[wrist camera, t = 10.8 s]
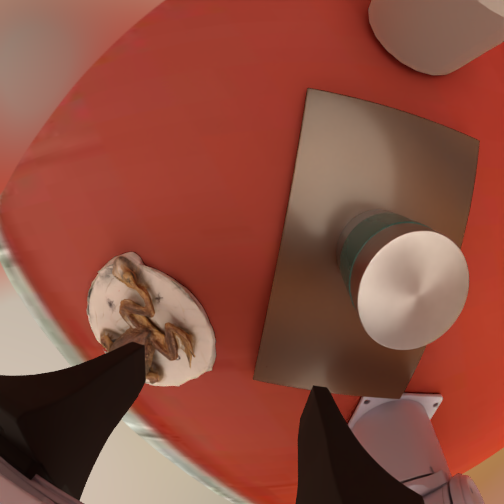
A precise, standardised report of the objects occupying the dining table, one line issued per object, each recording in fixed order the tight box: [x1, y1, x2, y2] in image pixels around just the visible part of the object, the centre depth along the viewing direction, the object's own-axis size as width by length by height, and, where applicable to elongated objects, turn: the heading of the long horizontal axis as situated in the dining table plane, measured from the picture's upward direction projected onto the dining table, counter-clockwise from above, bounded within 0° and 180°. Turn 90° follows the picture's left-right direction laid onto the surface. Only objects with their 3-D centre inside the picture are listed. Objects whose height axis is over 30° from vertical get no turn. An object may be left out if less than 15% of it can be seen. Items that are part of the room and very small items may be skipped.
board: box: [253, 88, 480, 399], centre depth 18 cm, size 20×12×1 cm, turn 171°
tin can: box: [336, 210, 469, 350], centre depth 14 cm, size 5×5×7 cm
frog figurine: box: [87, 252, 216, 386], centre depth 21 cm, size 12×12×4 cm
